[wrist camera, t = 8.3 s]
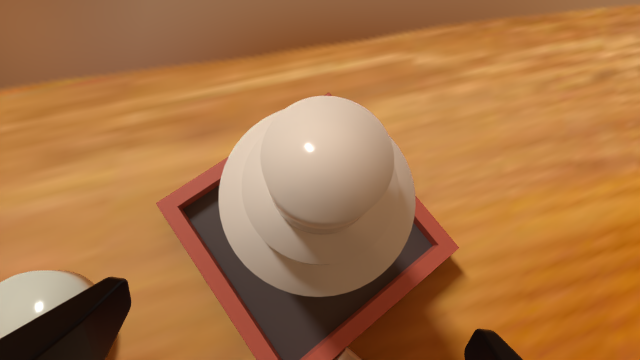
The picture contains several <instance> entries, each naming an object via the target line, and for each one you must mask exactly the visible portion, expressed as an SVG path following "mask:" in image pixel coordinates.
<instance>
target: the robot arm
mask: <svg viewBox="0 0 640 360" xmlns="http://www.w3.org/2000/svg"><path fill="white" fill-rule="evenodd" d="M130 307H131V297H130V292H129V286H128V282H127V280H126V279H124V278H117V277H108V278H105V279H103V280H102V281H100V282H98V283H96V284H95V285H93V286H91V287H89V288H88V289H86V290H84V291H82V292H81V293H79V294H77V295H75V296H74V297H72V298H70V299H68V300H67V301H65V302H63V303H61V304H60V305H58V306H56V307H54V308H53V309H51V310H49V311H47V312H46V313H44V314H42V315H40V316H39V317H37V318H35V319H33V320H32V321H30V322H28V323H26V324H25V325H23V326H21V327H19V328H18V329H16V330H14V331H12V332H11V333H9V334H7V335H5V336H4V337H2V338H0V360H105V359H106V357H107V355H108V353H109V351H110V348H111V346H112V344H113V342H114V340H115V338H116V336H117V334H118V332H119V330H120V328H121V326H122V324H123V322H124V320H125V318H126V316H127V314H128V312H129V310H130ZM464 355H465V360H523V359H522V358H521V357H520V356H519V355H518V354H517V353H516V352H515V351H514V350H513V349H512V348H511V347H510V346H509V345H508V344H507V343H506V342H505V341H504V340H503V339H502V338H501V337H500V336H499V335H498V334H497V333H495V332H494V331H491V330H485V329H477V330H475V332H474V333H473V335H472V337H471V339H470V340H469V342H468V344H467V346H466V348H465V353H464Z"/></svg>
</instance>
